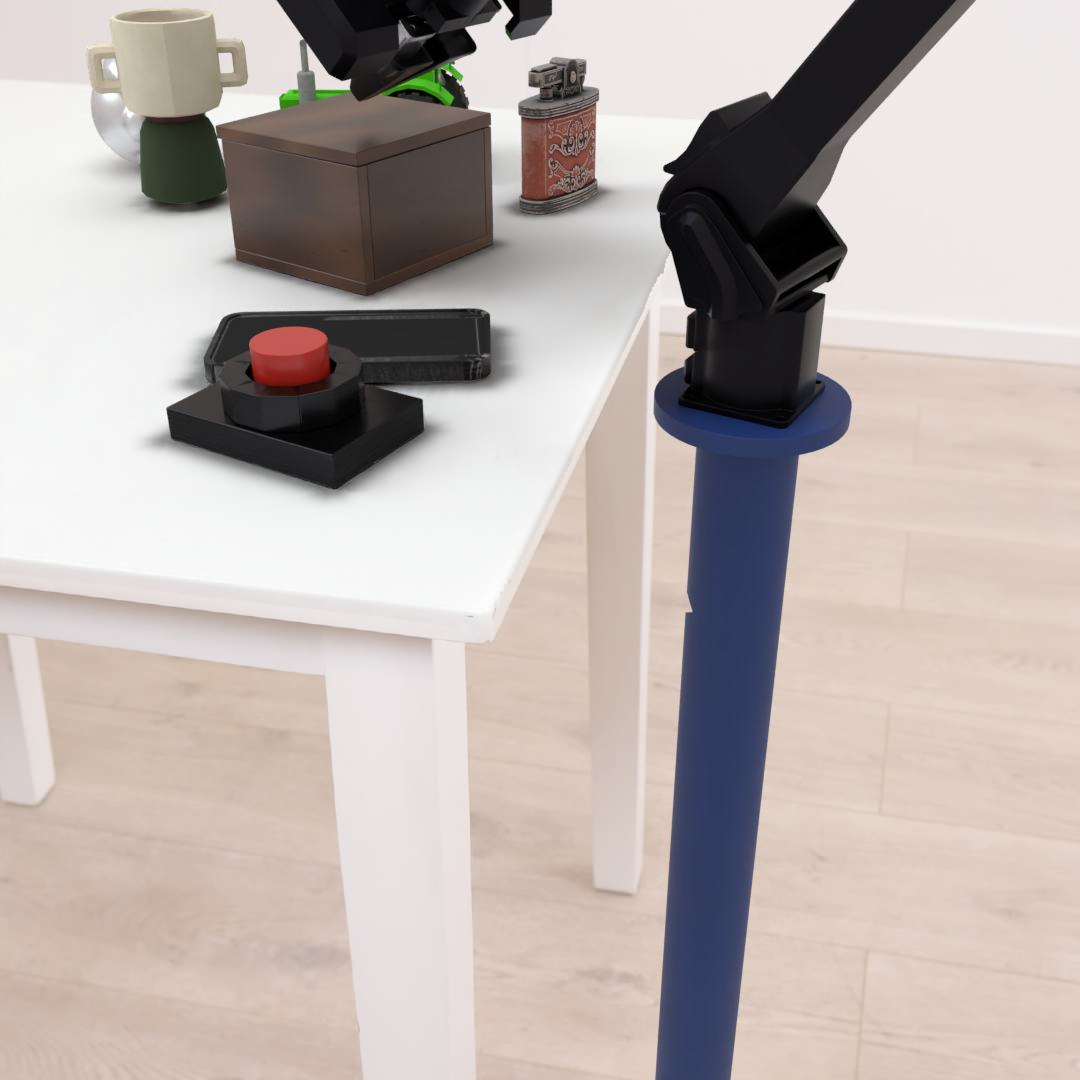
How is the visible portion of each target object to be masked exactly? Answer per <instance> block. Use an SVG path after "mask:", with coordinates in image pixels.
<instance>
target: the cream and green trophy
mask: <svg viewBox="0 0 1080 1080" xmlns="http://www.w3.org/2000/svg"><path fill="white" fill-rule="evenodd" d="M108 21H109V22H108V23H109V30H110V37H111V42H112V43H99V44H91V45H89V46H87V47H86V49H85V58H86V64H87V70H88V77H89V82H90V87H91V88H92V89H93V90H94V92H96V93H100V94H110V93H121V98H122V100H123V102H124V104H125V105H126V107H127V109H128V110H129V112H132V113H135V114H139V115H142V116H145V117H146V119H145V120H144V121H143V123H142V126H141V129H140V165H139V168H140V169H139V171H140V186H141V192H142V194H143V195H144V196H145V197H146V198H150V199H152V200H154V201H158V202H162V203H169V204H176V205H181V204H182V205H183V204H194V203H199V202H203V201H207V200H209V199H213V198H216V197H217V196H219V195H221V194H222V193H224V192H226V191H227V190H228V188H227V180H226V172H225V164H224V157H223V153H222V150H221V148H220V144H219V140H218V139H219V138H217V134H216V127H215V126H214V124H213V122H212V121H211V120H210V118H209V117H208V116H207V115H206V116H205V112H206V113H208V112H210V111H212V110H214V109H216V108H219V106H220V105H221V101H222V98H223V93H224V91H223V90H224V89H223V88H237V87H242V86H245V85H247V84H248V79H249V73H248V72H249V71H248V63H247V56H246V55H247V54H246V47H245V44H244V42H243V40H242V39H240V38H236V37H229V38H217V32H216V24H215V17H214V13H212V12H211V11H209V10H206V9H200V8H190V7H152V8H150V7H149V8H140V9H135V10H128V11H127V10H126V11H123V12H119V13H114V14H113V15H111V16H110V17H109V18H108ZM219 54H231V59H232V60H231V61H232V67H233V72H223V73H221V66H220V56H219ZM110 58H115V62H116V68H117V74H118V79H105V78H104V74H103V61H102V60H104V59H110Z"/></svg>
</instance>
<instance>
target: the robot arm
mask: <svg viewBox="0 0 1080 1080" xmlns="http://www.w3.org/2000/svg"><path fill="white" fill-rule="evenodd" d="M976 1H977V0H853V1H852V2H851V4H850V5H849V6H848V7H847V8H846V10H845V11H844V12H843V13H842V15H841V16H840V17H839V18H838V19H837V20H836V22H835V23H834V24H833V25H832V27H831V28H830V29H829V30H828V31H827V33H826V34H825V35H824V36H823V37H822V39H821V40H820V41H819V42H818V44H816V46H815V47H814V48H813V50H812V51H811V52H810V53H809V54H808V55H807V57H806V58H805V59H804V60H803V61H802V63H801V64H800V65H799V66H798V68H797V69H796V70H795V71H794V72H793V74H792V75H791V76H790V77H789V78H788V79H787V81H786V82H785V83H784V84H783V86H782V87H781V88H780V89H779V90H778V92H777V93H775V95H774V96H773V97H772V98H771V95H770V94H769V93H768V91H762V92H759V93H757V94H755V95H751V96H748V97H746V98H742V99H741V100H738V101H735V102H733V103H730V104H727V105H724V106H721V107H719V108H716V109H714V110H711V111H709V112H708V114H707V115H706V116H705V118H704V119H703V120H702V121H701V123H700V124H699V125H698V128H697V130H696V131H695V133H694V135H693V138H692V139H691V141H690V142H689V144H688V145H687V147H686V149H685V150H684V151H683V152H682V153H681V154H680V155H679V156H678V157H677V158H675V159H674V160H672V161H670V162H668V163H666V164H664V165H663V166H662V171H663V172H664V173H666V174H668V175H672V176H671V177H670V178H669V179H668V180H667V181H666V183H665V184H664V185H663V188H662V190H661V191H660V193H659V196H658V199H657V204H656V210H657V212H658V214H659V226H660V230H661V234H662V237H663V240H664V242H665V244H666V246H667V248H668V249H669V251H670V253H671V257H672V259H673V264H674V268H675V272H676V276H677V280H678V283H679V287H680V291H681V295H682V299H683V303H684V305H685V306H686V307H687V308H689V309H693V310H694V311H692V312H691V313H689V314H688V315H687V316H686V327H685V328H686V329H685V330H686V331H685V344H684V346H685V348H687V349H691V350H692V351H693V352H692V354H691V355H689V356H688V357H687V358H685V359H684V364H683V365H684V366H683V367H684V381H685V383H686V384H689V385H690V386H689V387H688V388H687V389H686V390H684V391H683V392H682V393H681V394H680V395H679V396H678V404H679V405H680V406H683V407H687V408H691V409H695V410H700V411H704V412H708V413H713V414H717V415H721V416H725V417H730V418H734V419H738V420H743V421H747V422H751V423H756V424H760V425H764V426H768V427H773V428H777V429H785V428H788V427H789V426H790V425H791V424H792V423H793V422H794V421H795V420H796V419H797V418H798V417H799V416H800V415H801V414H802V413H803V412H804V411H805V410H806V409H807V408H808V407H809V406H810V405H811V404H812V403H813V402H814V401H815V400H816V399H817V398H818V397H819V396H820V395H821V394H822V393H823V392H824V390H825V385H826V382H825V381H823V380H821V379H816V377H817V372H818V366H819V357H820V350H821V340H822V332H823V322H824V314H825V312H824V311H825V307H826V306H825V304H826V296H827V295H826V294H825V293H823V292H818V291H814V290H817V288H819V287H821V286H822V285H824V284H826V283H827V284H828V283H830V282H832V281H834V280H835V278H836V276H837V274H838V272H839V270H840V268H841V267H842V264H843V262H844V261H845V259H846V256H847V254H848V251H849V249H848V246H847V244H846V243H845V242H844V240H843V239H842V237H841V236H840V235H839V233H838V231H837V230H836V228H835V227H834V226H833V224H832V223H831V222H830V220H829V219H828V218H827V217H826V215H825V214H824V212H823V210H822V209H821V207H819V205H818V203H819V201H820V200H821V198H822V196H823V195H824V193H826V191H827V189H828V188H829V185H830V184H831V181H832V179H833V177H834V174H835V172H836V169H837V167H838V164H839V162H840V159H841V157H842V154H843V152H844V149H845V147H846V146H847V144H848V142H849V141H850V139H851V138H852V137H853V135H855V133H857V131H858V130H859V129H860V128H861V127H862V126H863V125H864V124H865V122H866V121H868V119H869V118H870V117H871V116H872V115H873V114H874V112H875V111H876V110H877V109H878V108H879V107H880V106H881V105H882V104H883V103H884V102H885V100H887V99H888V97H890V95H891V94H892V93H893V92H894V91H895V90H896V88H897V87H899V85H900V84H901V83H902V82H903V81H904V80H905V79H906V78H907V77H908V76H909V74H910V73H911V72H912V71H913V70H914V69H915V68H916V67H917V66H918V65H919V63H920V62H921V61H922V60H923V59H924V58H925V57H926V56H927V55H928V53H929V52H931V50H932V49H933V48H934V47H935V46H936V45H937V44H938V43H939V42H940V40H942V39H943V37H944V36H945V35H946V34H947V33H948V32H949V31H950V30H951V29H952V27H953V26H954V25H955V24H956V23H957V22H958V21H959V20H960V19H961V18H962V17H963V15H964V14H966V12H967V11H968V10H969V9H970V8H971V7H972V5H973V4H974V3H975V2H976ZM276 2H277V4H278V5H279V6H280V7H281V10H282V11H283V12H284V13H285V14H286V16H287V17H288V19H289V20H290V22H291V23H292V25H293V26H294V28H295V29H296V30H297V32H298V33H299V34H300V36H301V38H302V39H304V40H305V42H306V43H307V47H309V49H310V50H311V52H312V53H313V54H314V56H315V57H316V59H317V60H318V62H319V63H320V64H321V66H322V67H323V69H324V70H325V72H326V73H327V74H328V75H329V76H330V77H333V78H334V79H337V80H338V81H341V82H345V81H349V80H350V83H349V90H350V91H351V92H352V94H353V95H354V97H355V98H356V99H357V101H359V102H361V101H364V100H368V99H371V98H373V97H375V96H377V95H379V94H382V93H384V92H386V91H388V90H390V89H393V88H395V87H397V86H399V85H401V84H403V83H406V82H408V81H410V80H412V79H415V78H417V77H419V76H421V75H424V74H426V73H428V72H431V71H433V70H435V69H437V68H440V67H442V66H444V65H447V64H449V63H451V62H453V61H455V62H456V61H459V60H461V59H462V58H465V57H468V56H471V55H473V54H474V53H475V52H476V51H477V49H478V46H477V44H476V41H475V40H474V39H473V37H472V36H471V34H470V33H469V31H468V30H467V29H466V28H469V27H472V26H478V25H482V24H486V23H487V24H488V23H490V22H491V21H492V20H493V18H494V17H495V15H496V14H497V13H499V12H501V10H502V9H503V6H502V4H501V2H500V1H499V0H276ZM502 2H503V4H504V5H505V6H506V8H507V9H508V10H509V12H510V13H511V15H512V16H511V18H510V19H509V20H508V21H507V22H506V24H505V25H504V31H505V34H506V36H507V37H508V38H509V40H510V41H515V40H519V39H523V38H528V37H531V36H536V35H537V34H538V32H539V31H541V29H542V28H543V27H544V25H545V24H546V23H547V21H548V20H549V19H550V18H551V17H552V15H553V0H502Z"/></svg>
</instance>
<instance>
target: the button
mask: <svg viewBox="0 0 1080 1080" xmlns="http://www.w3.org/2000/svg"><path fill="white" fill-rule="evenodd" d="M249 347H250V355H251V364H252V372H253V378H254V381H255V382H258V383H262V384H266V385H269V386H299V385H304V384H308V383H313V382H318V381H320V380H321V379H323V378H325V377H327V376H329V375H330V373H331V370H330V359H329V348H328V338H327V336H326V335H325V334H324V333H323V332H321V331H319V330H317V329H313V328H307V327H281V328H275V329H271V330H267V331H264V332H262V333H259V334H257V335H256V336H254V337H253V338H252V339H251V340H250V343H249Z"/></svg>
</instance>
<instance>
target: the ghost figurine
mask: <svg viewBox="0 0 1080 1080" xmlns="http://www.w3.org/2000/svg"><path fill="white" fill-rule="evenodd" d="M102 68H103V74H104V78H105V79H118V74H117V68H116V62H115V58H110V59H103V62H102ZM90 112H91V118H92V121H93V124H94V127H95V129H96V131H97V133H98V135H99V137H100V138H101V140H102V142H103V143H104V144H105V145H106V146H107V147H108V148H109V150H111V151H112V152H113V153H114V154H115V155H117V156H118V157H120V158H121V159H124V161H127V162H129V163H131V164H134V165H137V166H140V129H141V126H142V123H143V121H144V120H145V119H146V117H145V116H142V115H139V114H135V113H132V112H129V110H128V109H127V107H126V105H125V104H124V102H123V100H122V98H121V93H110V94H100V93H96V92H94V90H93V88H92V90H91V95H90ZM205 116H207V112H205Z"/></svg>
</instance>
